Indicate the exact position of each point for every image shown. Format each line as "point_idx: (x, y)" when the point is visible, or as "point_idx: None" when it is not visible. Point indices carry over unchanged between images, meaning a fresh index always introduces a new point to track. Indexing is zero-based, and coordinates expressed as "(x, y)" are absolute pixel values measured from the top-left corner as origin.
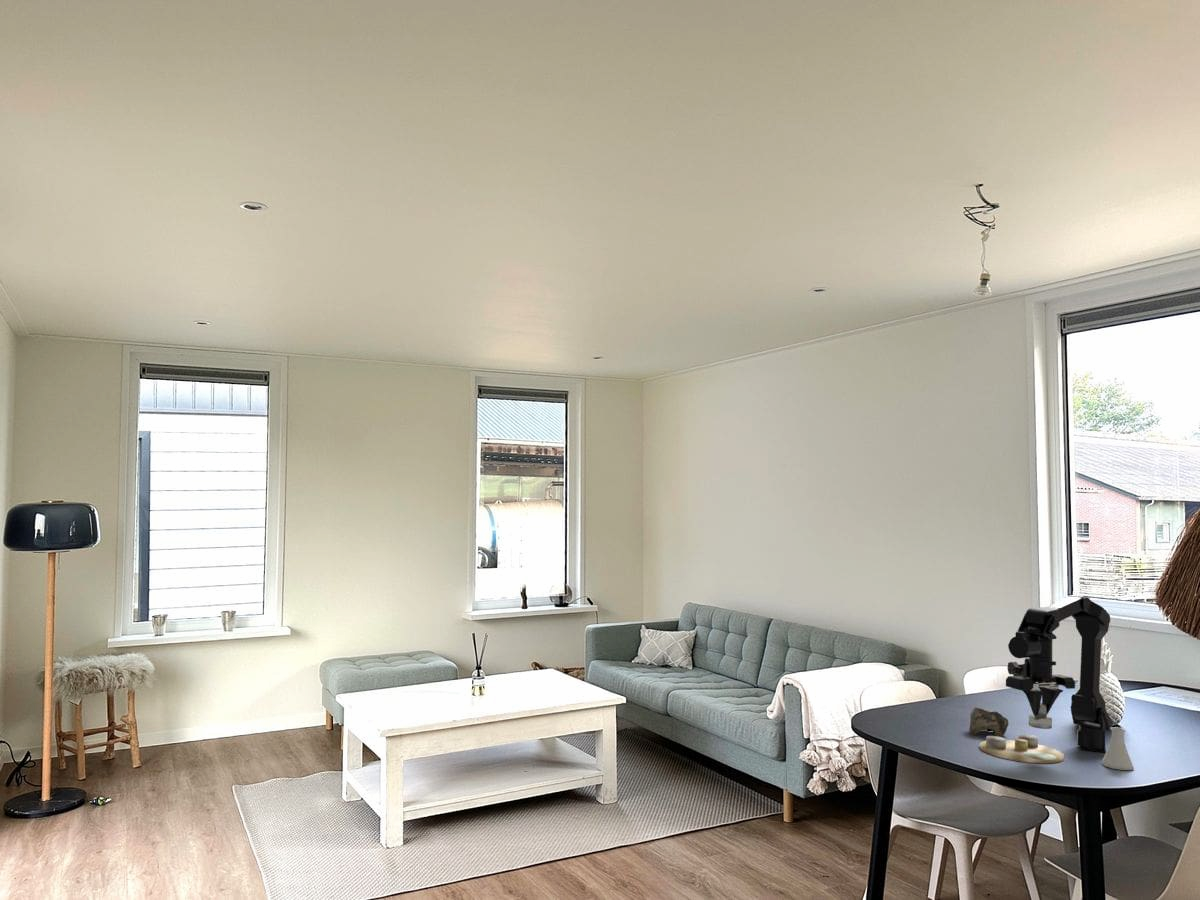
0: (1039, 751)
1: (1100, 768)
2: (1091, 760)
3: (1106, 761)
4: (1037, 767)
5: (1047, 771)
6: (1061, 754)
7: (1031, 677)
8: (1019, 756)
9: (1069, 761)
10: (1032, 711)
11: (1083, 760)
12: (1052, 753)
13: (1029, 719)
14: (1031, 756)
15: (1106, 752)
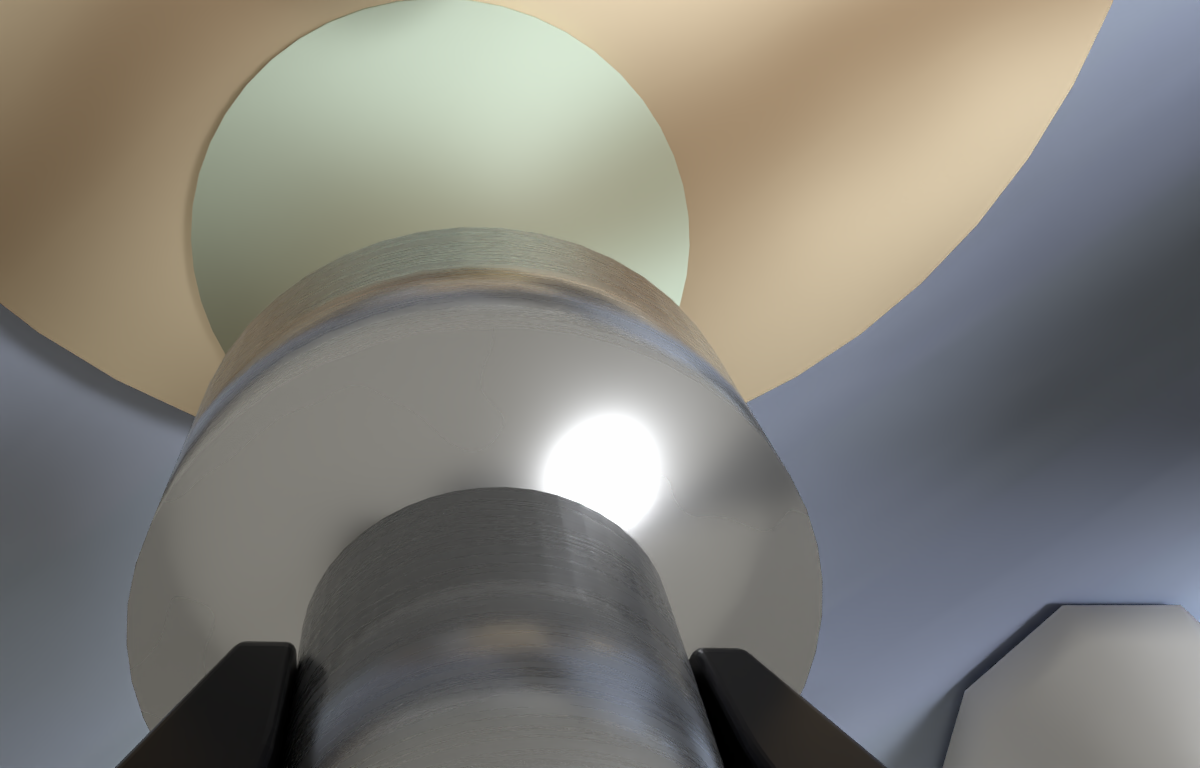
0: (711, 34)
1: (845, 722)
2: (1109, 467)
3: (1000, 742)
4: (29, 543)
5: (28, 698)
6: (885, 278)
7: None
8: (44, 176)
9: (782, 433)
10: (182, 708)
11: (1012, 443)
12: (806, 196)
13: (181, 459)
14: (234, 274)
15: (1138, 751)
